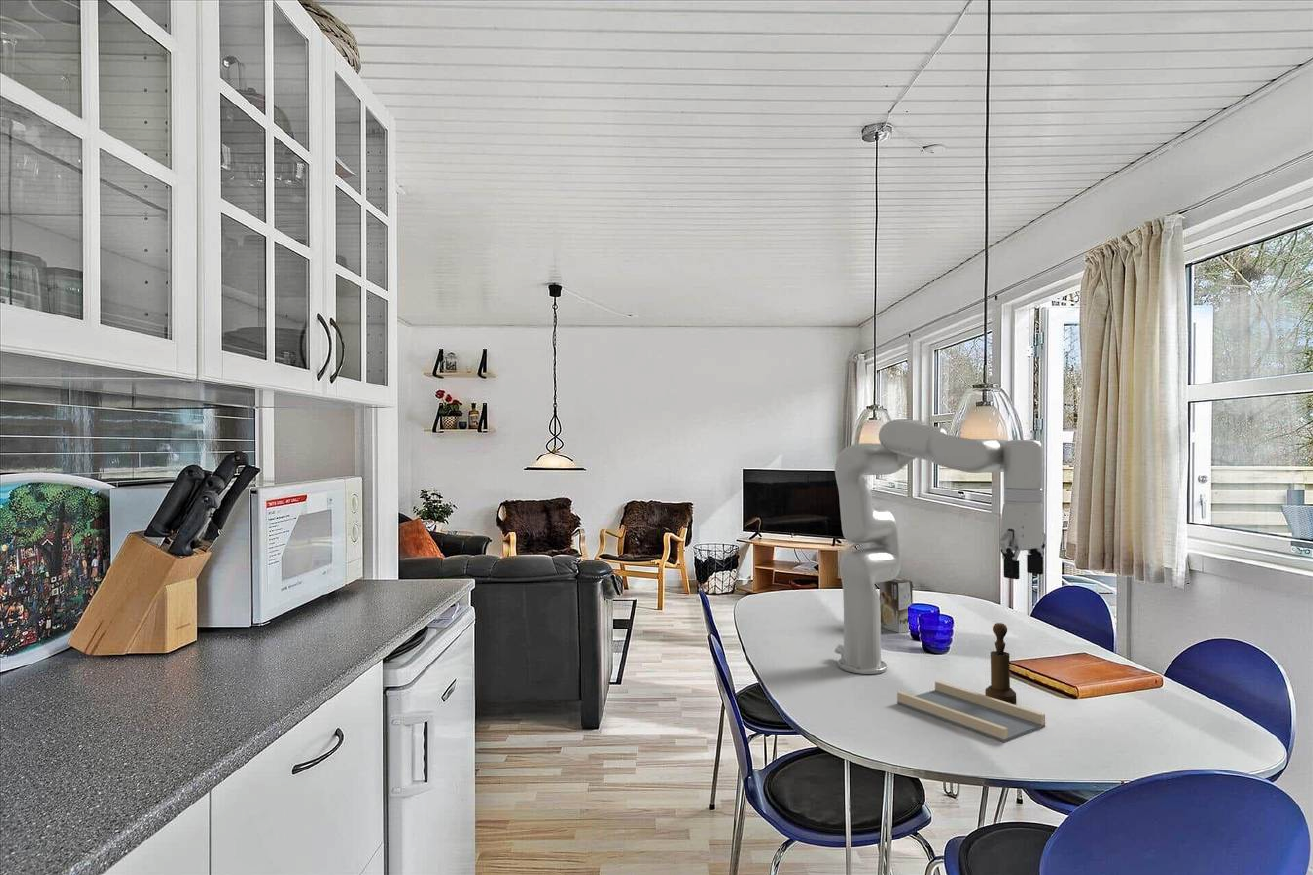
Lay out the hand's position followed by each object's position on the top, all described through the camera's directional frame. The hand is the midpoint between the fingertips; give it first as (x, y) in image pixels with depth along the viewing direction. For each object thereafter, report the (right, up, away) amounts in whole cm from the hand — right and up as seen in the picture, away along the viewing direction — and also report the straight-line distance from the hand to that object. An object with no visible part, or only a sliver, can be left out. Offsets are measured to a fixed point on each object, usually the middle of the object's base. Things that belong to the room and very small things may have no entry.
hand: (1023, 575), depth 156 cm
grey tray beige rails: (-11, -31, +3) cm, 33 cm away
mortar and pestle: (0, -32, +12) cm, 34 cm away
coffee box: (-2, -32, +78) cm, 84 cm away
